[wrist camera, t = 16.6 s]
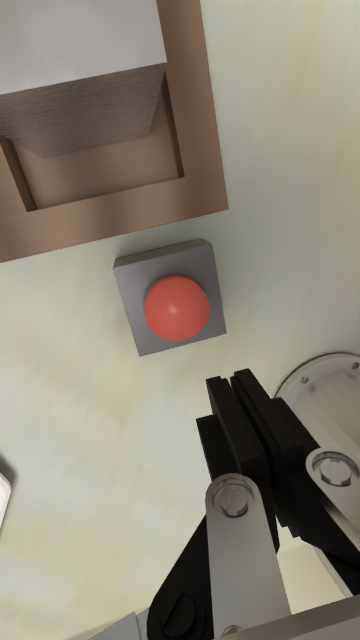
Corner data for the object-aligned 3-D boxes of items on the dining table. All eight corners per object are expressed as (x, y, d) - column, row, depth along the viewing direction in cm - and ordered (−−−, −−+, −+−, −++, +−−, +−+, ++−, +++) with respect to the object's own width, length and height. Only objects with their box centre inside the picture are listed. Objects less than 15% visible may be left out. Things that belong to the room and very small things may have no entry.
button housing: (199, 238, 24) (211, 244, 20) (213, 316, 27) (226, 333, 23) (115, 258, 24) (112, 268, 20) (138, 335, 26) (139, 356, 23)
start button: (197, 267, 21) (203, 272, 19) (208, 323, 22) (214, 332, 21) (136, 282, 20) (137, 288, 19) (152, 338, 22) (153, 347, 21)
